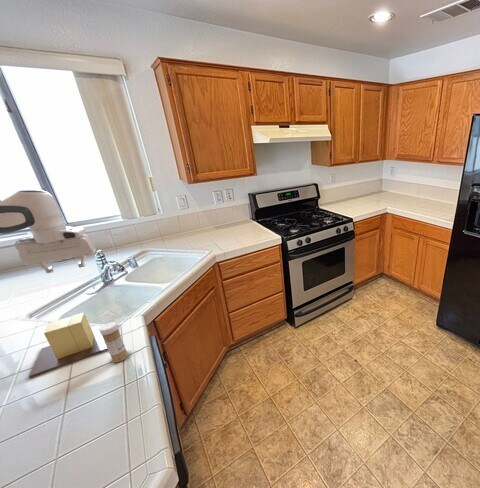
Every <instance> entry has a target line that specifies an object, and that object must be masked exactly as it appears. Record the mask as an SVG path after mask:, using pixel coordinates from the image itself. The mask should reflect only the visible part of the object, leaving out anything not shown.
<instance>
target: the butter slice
mask: <svg viewBox="0 0 480 488" xmlns="http://www.w3.org/2000/svg"><path fill="white" fill-rule="evenodd" d="M71 316H72V317H71ZM71 316H70V317H71V320H70V323H69V325H68V327H69V329H70V331H71V333H72V335H73V337H74V339H75V342H76V344H77V346H78V348H79V350H80V351H82V350H85V349H88V348H91V347H92V345H93V340H94V334H93V332H94V331H93V330H92V327H91V325H90V323H89V320H88V318H87V315H86V313H85V312H84V311H83V312H80V313H77V314H73V315H71Z"/></svg>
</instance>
